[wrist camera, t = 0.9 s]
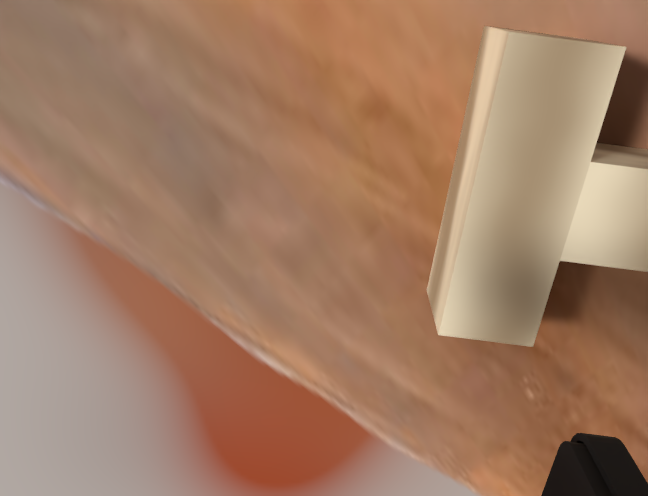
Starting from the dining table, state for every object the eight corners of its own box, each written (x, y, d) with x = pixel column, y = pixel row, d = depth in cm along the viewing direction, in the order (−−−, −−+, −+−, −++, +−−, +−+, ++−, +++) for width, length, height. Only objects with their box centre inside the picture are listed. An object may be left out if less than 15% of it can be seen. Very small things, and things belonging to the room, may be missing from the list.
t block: (426, 290, 28) (438, 334, 25) (483, 25, 23) (509, 31, 20) (672, 321, 28) (720, 370, 25) (779, 64, 24) (859, 77, 20)
